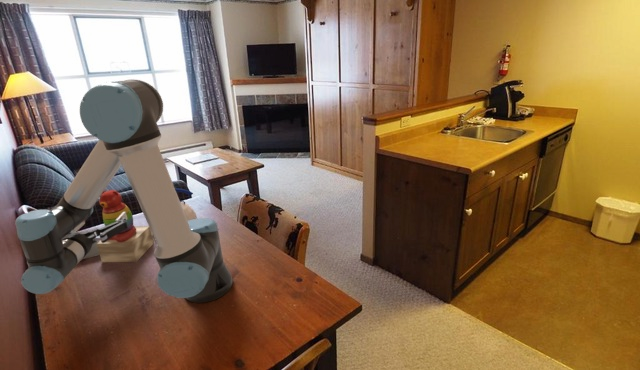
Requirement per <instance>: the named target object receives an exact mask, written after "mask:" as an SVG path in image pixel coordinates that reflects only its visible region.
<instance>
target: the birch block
mask: <svg viewBox="0 0 640 370" xmlns="http://www.w3.org/2000/svg"><path fill="white" fill-rule="evenodd" d="M135 228H136V232H135V234H134V235H133V236H132V237H131V238H129V239H128V240H126V241H124V242H117V241H116V240H113V239H112V240H107V241H106V242H105V243H102V242H101V241H99V242H98V243H97V247H98V251H99V254H100V255H99V257H100V261H101V262H102V263H130V262H131V263H132V262H134V263H135V262H138V261H139V259H141V257H143V255H144V254H145V253H147V251H148V250H149V249H151V247H152V246H153V245H155V244H154V237H153V236H152V234H151V230H150V227H149V225H144V226H135Z"/></svg>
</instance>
